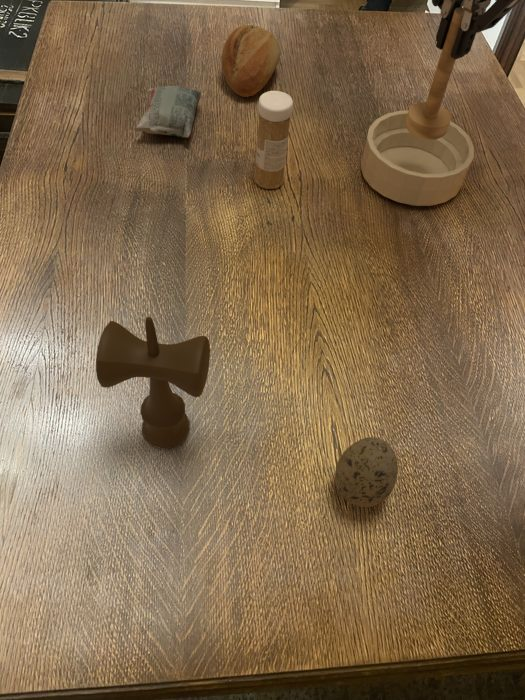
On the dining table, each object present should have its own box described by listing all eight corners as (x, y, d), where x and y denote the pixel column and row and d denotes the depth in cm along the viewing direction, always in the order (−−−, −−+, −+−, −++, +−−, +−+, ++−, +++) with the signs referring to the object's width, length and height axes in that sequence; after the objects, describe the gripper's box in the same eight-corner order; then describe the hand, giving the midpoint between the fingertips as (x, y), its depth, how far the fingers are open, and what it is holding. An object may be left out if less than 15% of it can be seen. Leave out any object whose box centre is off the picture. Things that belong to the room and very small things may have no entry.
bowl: (446, 143, 98) (457, 110, 94) (472, 209, 90) (487, 176, 85) (352, 143, 97) (359, 110, 92) (370, 210, 88) (378, 177, 83)
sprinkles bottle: (254, 170, 92) (259, 88, 81) (284, 171, 92) (292, 90, 81) (253, 190, 89) (258, 108, 78) (284, 191, 89) (293, 110, 78)
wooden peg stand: (441, 114, 88) (479, -1, 75) (451, 139, 85) (494, 24, 72) (401, 114, 88) (433, -2, 75) (410, 139, 84) (445, 23, 71)
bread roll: (212, 97, 102) (212, 51, 95) (232, 52, 110) (233, 6, 104) (268, 107, 101) (271, 61, 95) (284, 60, 110) (288, 15, 103)
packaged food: (135, 143, 94) (132, 115, 90) (150, 99, 101) (148, 71, 97) (191, 149, 94) (190, 121, 90) (202, 105, 101) (202, 77, 97)
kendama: (129, 400, 68) (100, 282, 51) (214, 412, 68) (212, 297, 51) (115, 448, 64) (79, 339, 48) (205, 461, 64) (199, 355, 48)
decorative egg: (347, 452, 66) (366, 407, 58) (396, 483, 64) (422, 441, 56) (319, 495, 63) (334, 453, 55) (369, 528, 61) (392, 490, 53)
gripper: (577, -92, 61) (510, 70, 76) (478, -138, 68) (433, 20, 82) (528, -79, 59) (468, 87, 73) (430, -128, 65) (392, 34, 79)
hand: (450, 51), depth 77 cm, fingers closed on wooden peg stand
